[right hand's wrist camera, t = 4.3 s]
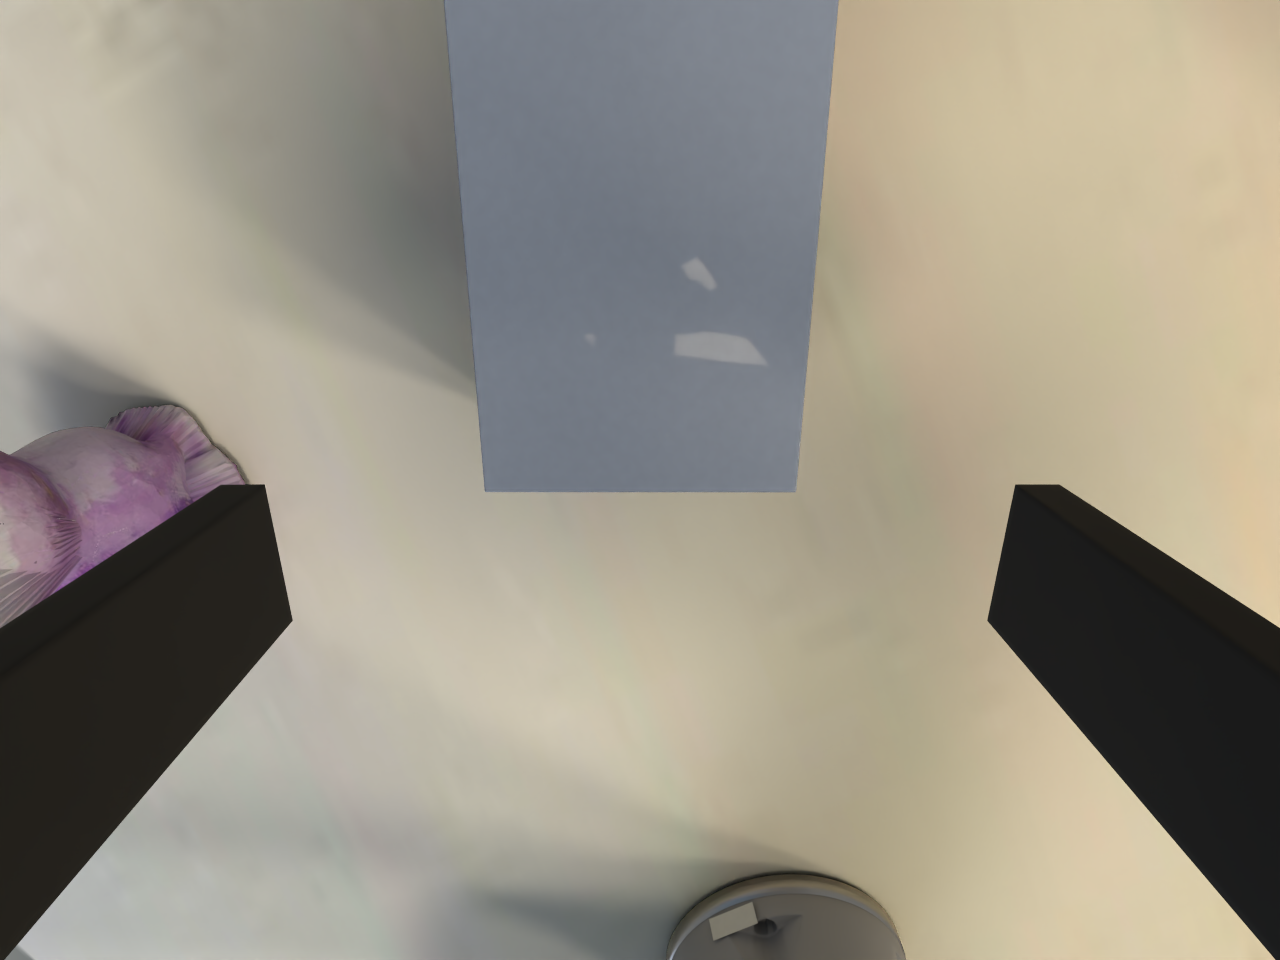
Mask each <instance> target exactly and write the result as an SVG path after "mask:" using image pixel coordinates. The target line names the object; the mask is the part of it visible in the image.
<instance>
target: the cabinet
mask: <svg viewBox="0 0 1280 960" xmlns="http://www.w3.org/2000/svg"><path fill="white" fill-rule="evenodd" d="M838 1H839V0H444V7H445V19H446V31H447V43H448V55H449V67H450V79H451V91H452V103H453V115H454V127H455V139H456V151H457V163H458V175H459V187H460V199H461V211H462V223H463V235H464V247H465V259H466V271H467V283H468V295H469V307H470V319H471V331H472V343H473V355H474V366H475V378H476V390H477V402H478V414H479V426H480V438H481V450H482V462H483V474H484V486H485V492H796V487H797V475H798V463H799V452H800V440H801V429H802V417H803V406H804V394H805V383H806V371H807V359H808V348H809V336H810V325H811V313H812V302H813V290H814V279H815V267H816V255H817V244H818V232H819V221H820V209H821V198H822V186H823V174H824V163H825V151H826V140H827V128H828V117H829V105H830V94H831V82H832V70H833V59H834V47H835V36H836V24H837V13H838Z"/></svg>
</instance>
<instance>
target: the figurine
mask: <svg viewBox="0 0 1280 960" xmlns="http://www.w3.org/2000/svg"><path fill="white" fill-rule="evenodd" d="M219 485H246V484H245V482H244V481H243V479H242V477H241V475H240V474H239V472H238V470H237V465H235V464H234V463H233V462H231V461H230V460H229V459H228V458H227V457H226V456H225V455H224V454H223V453H222V452H221V451H220V450H219V449H217V448H216V447H215V446H214V445H212V444H211V443H210V441H209V439H208V438H207V437H206V436H205V435H204V434H203V432H202V429H201V428H200V427H199V426H198V424H197V422H196V421H195V420H194V419H193V418H192V417H191V416H190V415H189V414H188V413H187V412H186V410H184V409H183V408H180V407H175V406H173V405H163V406H160V407H157V406H154V407H151V406H149V407H148V408H147V407H145V406H144V407H143V408H140V407H138V408H132V409H126V410H125V411H124V412H119V414H118V416H115V417H112V418H111V419H110V420H109V422H108V424H107V425H106V427H105V428H101V427H79V428H70V429H65V430H60V431H56V432H53V433H50V434H48V435H46V436H43V437H41V438H39V439H37V440H35V441H33V442H31V443H29V444H28V445H26V446H24V447H23V448H21V449H19V450H18V451H16V452H14V453H12V454H10V455H8V454H6V453H4V452H2V451H0V628H1V627H3V626H4V625H6V624H7V623H9V622H10V621H12V620H13V619H15V618H17V617H18V616H20V615H21V614H23V613H24V612H26V611H27V610H29V609H30V608H32V607H33V606H35V605H37V604H38V603H40V602H41V601H43V600H44V599H46V598H47V597H49V596H50V595H52V594H53V593H55V592H56V591H58V590H60V589H61V588H63V587H64V586H66V585H67V584H69V583H70V582H72V581H73V580H75V579H76V578H78V577H80V576H81V575H83V574H84V573H86V572H87V571H89V570H90V569H92V568H93V567H95V566H96V565H98V564H100V563H101V562H103V561H104V560H106V559H107V558H109V557H110V556H112V555H113V554H115V553H116V552H118V551H120V550H121V549H123V548H124V547H126V546H127V545H129V544H130V543H132V542H133V541H135V540H136V539H138V538H139V537H141V536H143V535H144V534H146V533H147V532H149V531H150V530H152V529H153V528H155V527H156V526H158V525H159V524H161V523H163V522H164V521H166V520H167V519H169V518H170V517H172V516H173V515H175V514H176V513H178V512H179V511H181V510H183V509H184V508H186V507H187V506H189V505H190V504H192V503H193V502H195V501H196V500H198V499H199V498H201V497H203V496H204V495H206V494H207V493H209V492H210V491H212V490H213V489H215V488H216V487H218V486H219Z"/></svg>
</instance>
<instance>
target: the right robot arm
mask: <svg viewBox="0 0 1280 960" xmlns="http://www.w3.org/2000/svg"><path fill="white" fill-rule="evenodd" d="M292 621H293V620H292V615H291V610H290V605H289V601H288V596H287V591H286V586H285V581H284V576H283V572H282V567H281V562H280V557H279V552H278V547H277V542H276V538H275V533H274V528H273V523H272V518H271V513H270V508H269V504H268V499H267V494H266V489H265V485H219V486H218V487H216V488H215V489H213V490H212V491H210V492H209V493H207V494H206V495H204V496H203V497H201V498H199V499H198V500H196V501H195V502H193V503H192V504H190V505H189V506H187V507H186V508H184V509H183V510H181V511H179V512H178V513H176V514H175V515H173V516H172V517H170V518H169V519H167V520H166V521H164V522H163V523H161V524H159V525H158V526H156V527H155V528H153V529H152V530H150V531H149V532H147V533H146V534H144V535H143V536H141V537H139V538H138V539H136V540H135V541H133V542H132V543H130V544H129V545H127V546H126V547H124V548H123V549H121V550H120V551H118V552H116V553H115V554H113V555H112V556H110V557H109V558H107V559H106V560H104V561H103V562H101V563H100V564H98V565H96V566H95V567H93V568H92V569H90V570H89V571H87V572H86V573H84V574H83V575H81V576H80V577H78V578H76V579H75V580H73V581H72V582H70V583H69V584H67V585H66V586H64V587H63V588H61V589H60V590H58V591H56V592H55V593H53V594H52V595H50V596H49V597H47V598H46V599H44V600H43V601H41V602H40V603H38V604H37V605H35V606H33V607H32V608H30V609H29V610H27V611H26V612H24V613H23V614H21V615H20V616H18V617H17V618H15V619H13V620H12V621H10V622H9V623H7V624H6V625H4V626H3V627H1V628H0V960H4V959H5V958H6V957H7V956H8V955H9V954H10V952H11V951H12V950H13V949H14V948H15V947H16V945H17V944H18V943H19V942H20V941H21V939H22V938H23V937H24V936H25V935H26V934H27V932H28V931H29V930H30V929H31V928H32V927H33V925H34V924H35V923H36V922H37V921H38V919H39V918H40V917H41V916H42V915H43V914H44V912H45V911H46V910H47V909H48V908H49V907H50V905H51V904H52V903H53V902H54V901H55V899H56V898H57V897H58V896H59V895H60V894H61V892H62V891H63V890H64V889H65V888H66V887H67V885H68V884H69V883H70V882H71V881H72V879H73V878H74V877H75V876H76V875H77V874H78V872H79V871H80V870H81V869H82V868H83V867H84V865H85V864H86V863H87V862H88V861H89V859H90V858H91V857H92V856H93V855H94V854H95V852H96V851H97V850H98V849H99V848H100V847H101V845H102V844H103V843H104V842H105V841H106V839H107V838H108V837H109V836H110V835H111V834H112V832H113V831H114V830H115V829H116V828H117V827H118V825H119V824H120V823H121V822H122V821H123V819H124V818H125V817H126V816H127V815H128V814H129V812H130V811H131V810H132V809H133V808H134V807H135V805H136V804H137V803H138V802H139V801H140V799H141V798H142V797H143V796H144V795H145V794H146V792H147V791H148V790H149V789H150V788H151V787H152V785H153V784H154V783H155V782H156V781H157V780H158V778H159V777H160V776H161V775H162V774H163V772H164V771H165V770H166V769H167V768H168V767H169V765H170V764H171V763H172V762H173V761H174V760H175V758H176V757H177V756H178V755H179V754H180V752H181V751H182V750H183V749H184V748H185V747H186V745H187V744H188V743H189V742H190V741H191V740H192V738H193V737H194V736H195V735H196V734H197V732H198V731H199V730H200V729H201V728H202V727H203V725H204V724H205V723H206V722H207V721H208V720H209V718H210V717H211V716H212V715H213V714H214V712H215V711H216V710H217V709H218V708H219V707H220V705H221V704H222V703H223V702H224V701H225V700H226V698H227V697H228V696H229V695H230V694H231V692H232V691H233V690H234V689H235V688H236V687H237V685H238V684H239V683H240V682H241V681H242V680H243V678H244V677H245V676H246V675H247V674H248V672H249V671H250V670H251V669H252V668H253V667H254V665H255V664H256V663H257V662H258V661H259V660H260V658H261V657H262V656H263V655H264V654H265V652H266V651H267V650H268V649H269V648H270V647H271V645H272V644H273V643H274V642H275V641H276V640H277V638H278V637H279V636H280V635H281V634H282V632H283V631H284V630H285V629H286V628H287V627H288V625H289V624H290V623H291V622H292ZM987 621H988V622H989V623H990V624H991V625H992V627H993V628H994V629H995V630H996V631H997V632H998V634H999V635H1000V636H1001V637H1002V638H1003V640H1004V641H1005V642H1006V643H1007V644H1008V645H1009V647H1010V648H1011V649H1012V650H1013V651H1014V652H1015V654H1016V655H1017V656H1018V657H1019V658H1020V660H1021V661H1022V662H1023V663H1024V664H1025V665H1026V667H1027V668H1028V669H1029V670H1030V671H1031V672H1032V674H1033V675H1034V676H1035V677H1036V678H1037V680H1038V681H1039V682H1040V683H1041V684H1042V685H1043V687H1044V688H1045V689H1046V690H1047V691H1048V692H1049V694H1050V695H1051V696H1052V697H1053V698H1054V700H1055V701H1056V702H1057V703H1058V704H1059V705H1060V707H1061V708H1062V709H1063V710H1064V711H1065V712H1066V714H1067V715H1068V716H1069V717H1070V718H1071V720H1072V721H1073V722H1074V723H1075V724H1076V725H1077V727H1078V728H1079V729H1080V730H1081V731H1082V732H1083V734H1084V735H1085V736H1086V737H1087V738H1088V740H1089V741H1090V742H1091V743H1092V744H1093V745H1094V747H1095V748H1096V749H1097V750H1098V751H1099V752H1100V754H1101V755H1102V756H1103V757H1104V758H1105V760H1106V761H1107V762H1108V763H1109V764H1110V765H1111V767H1112V768H1113V769H1114V770H1115V771H1116V772H1117V774H1118V775H1119V776H1120V777H1121V778H1122V780H1123V781H1124V782H1125V783H1126V784H1127V785H1128V787H1129V788H1130V789H1131V790H1132V791H1133V792H1134V794H1135V795H1136V796H1137V797H1138V798H1139V800H1140V801H1141V802H1142V803H1143V804H1144V805H1145V807H1146V808H1147V809H1148V810H1149V811H1150V812H1151V814H1152V815H1153V816H1154V817H1155V818H1156V820H1157V821H1158V822H1159V823H1160V824H1161V825H1162V827H1163V828H1164V829H1165V830H1166V831H1167V832H1168V834H1169V835H1170V836H1171V837H1172V838H1173V840H1174V841H1175V842H1176V843H1177V844H1178V845H1179V847H1180V848H1181V849H1182V850H1183V851H1184V852H1185V854H1186V855H1187V856H1188V857H1189V858H1190V859H1191V861H1192V862H1193V863H1194V864H1195V865H1196V867H1197V868H1198V869H1199V870H1200V871H1201V872H1202V874H1203V875H1204V876H1205V877H1206V878H1207V879H1208V881H1209V882H1210V883H1211V884H1212V885H1213V887H1214V888H1215V889H1216V890H1217V891H1218V892H1219V894H1220V895H1221V896H1222V897H1223V898H1224V899H1225V901H1226V902H1227V903H1228V904H1229V905H1230V907H1231V908H1232V909H1233V910H1234V911H1235V912H1236V914H1237V915H1238V916H1239V917H1240V918H1241V919H1242V921H1243V922H1244V923H1245V924H1246V925H1247V927H1248V928H1249V929H1250V930H1251V931H1252V932H1253V934H1254V935H1255V936H1256V937H1257V938H1258V939H1259V941H1260V942H1261V943H1262V944H1263V945H1264V947H1265V948H1266V949H1267V950H1268V951H1269V952H1270V954H1271V955H1272V956H1273V957H1274V958H1275V959H1276V960H1280V628H1279V627H1277V626H1276V625H1274V624H1273V623H1271V622H1270V621H1268V620H1267V619H1265V618H1263V617H1262V616H1260V615H1259V614H1257V613H1256V612H1254V611H1253V610H1251V609H1250V608H1248V607H1247V606H1245V605H1243V604H1242V603H1240V602H1239V601H1237V600H1236V599H1234V598H1233V597H1231V596H1230V595H1228V594H1227V593H1225V592H1224V591H1222V590H1220V589H1219V588H1217V587H1216V586H1214V585H1213V584H1211V583H1210V582H1208V581H1207V580H1205V579H1204V578H1202V577H1200V576H1199V575H1197V574H1196V573H1194V572H1193V571H1191V570H1190V569H1188V568H1187V567H1185V566H1184V565H1182V564H1180V563H1179V562H1177V561H1176V560H1174V559H1173V558H1171V557H1170V556H1168V555H1167V554H1165V553H1164V552H1162V551H1160V550H1159V549H1157V548H1156V547H1154V546H1153V545H1151V544H1150V543H1148V542H1147V541H1145V540H1144V539H1142V538H1141V537H1139V536H1137V535H1136V534H1134V533H1133V532H1131V531H1130V530H1128V529H1127V528H1125V527H1124V526H1122V525H1121V524H1119V523H1117V522H1116V521H1114V520H1113V519H1111V518H1110V517H1108V516H1107V515H1105V514H1104V513H1102V512H1101V511H1099V510H1097V509H1096V508H1094V507H1093V506H1091V505H1090V504H1088V503H1087V502H1085V501H1084V500H1082V499H1081V498H1079V497H1077V496H1076V495H1074V494H1073V493H1071V492H1070V491H1068V490H1067V489H1065V488H1064V487H1062V486H1061V485H1015V489H1014V494H1013V499H1012V504H1011V508H1010V513H1009V518H1008V523H1007V528H1006V533H1005V538H1004V542H1003V547H1002V552H1001V557H1000V562H999V567H998V572H997V576H996V581H995V586H994V591H993V596H992V601H991V605H990V610H989V615H988V620H987ZM666 960H906V958H905V953H904V950H903V947H902V944H901V942H900V939H899V936H898V933H897V930H896V928H895V926H894V924H893V922H892V920H891V918H890V917H889V915H888V914H887V913H886V911H885V910H884V909H883V908H882V907H881V906H880V905H879V904H878V903H877V902H876V901H875V900H873V899H872V898H871V897H869V896H868V895H866V894H865V893H863V892H861V891H860V890H858V889H856V888H854V887H852V886H849V885H847V884H844V883H841V882H839V881H835V880H832V879H828V878H823V877H818V876H810V875H797V874H786V875H772V876H765V877H759V878H754V879H750V880H746V881H743V882H740V883H737V884H734V885H731V886H729V887H726V888H724V889H722V890H720V891H718V892H716V893H714V894H712V895H711V896H709V897H707V898H706V899H704V900H703V901H701V902H700V903H699V904H697V905H696V906H695V907H694V908H693V909H692V910H691V911H689V912H688V913H687V914H686V916H685V917H684V918H683V919H682V920H681V921H680V923H679V924H678V926H677V927H676V929H675V931H674V932H673V934H672V936H671V939H670V942H669V944H668V949H667V955H666Z"/></svg>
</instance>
